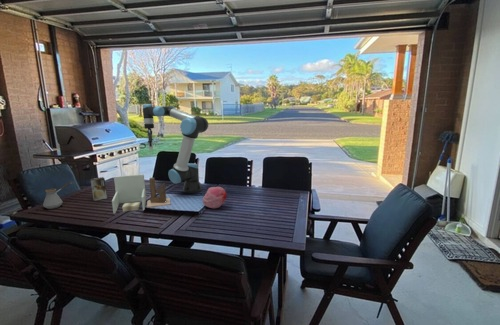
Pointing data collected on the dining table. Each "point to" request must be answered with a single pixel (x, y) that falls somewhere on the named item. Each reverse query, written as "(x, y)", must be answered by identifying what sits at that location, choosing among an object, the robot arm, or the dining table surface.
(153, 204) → the tile
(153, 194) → the wooden block
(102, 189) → the coffee box
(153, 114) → the robot arm
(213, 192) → the decorative rock
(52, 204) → the coffee pot
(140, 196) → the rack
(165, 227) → the dining table surface
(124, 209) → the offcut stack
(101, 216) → the dining table surface
